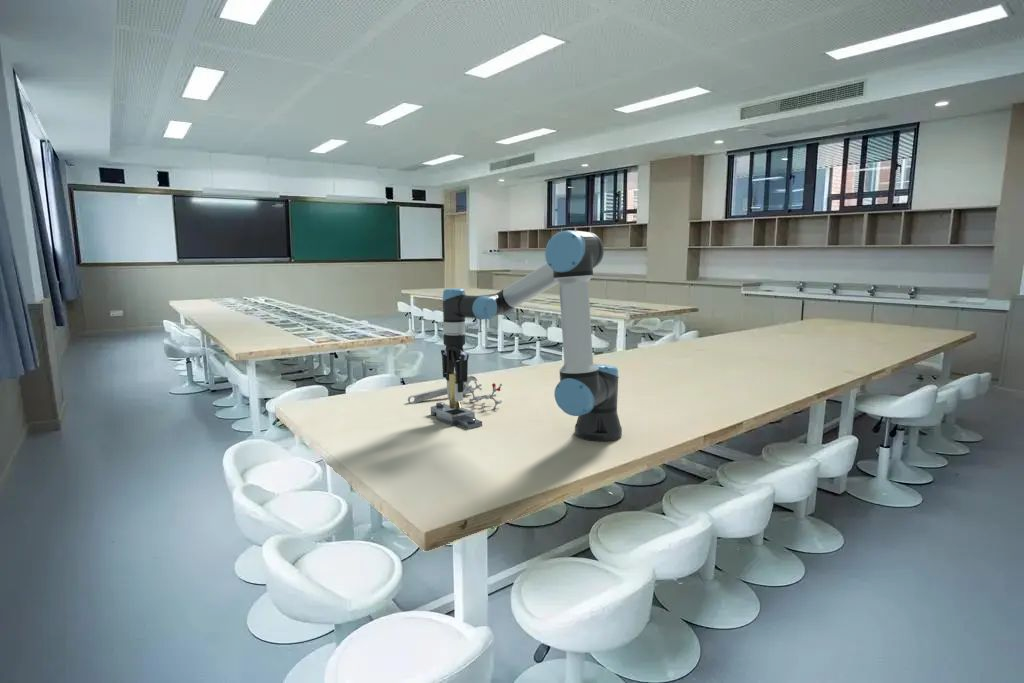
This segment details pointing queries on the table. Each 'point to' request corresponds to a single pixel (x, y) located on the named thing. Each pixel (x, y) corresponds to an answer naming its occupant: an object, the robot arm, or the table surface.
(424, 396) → the wrench
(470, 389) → the molecular model
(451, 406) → the pin
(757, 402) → the table surface
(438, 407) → the link plate
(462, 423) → the link plate
